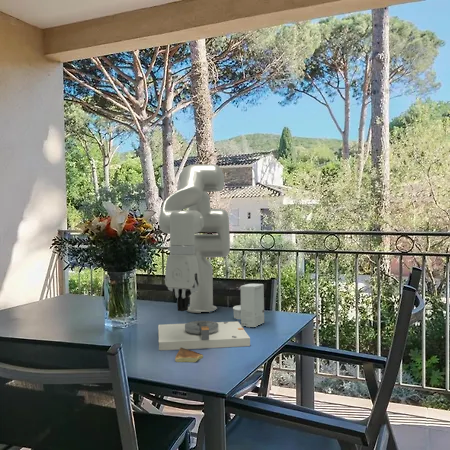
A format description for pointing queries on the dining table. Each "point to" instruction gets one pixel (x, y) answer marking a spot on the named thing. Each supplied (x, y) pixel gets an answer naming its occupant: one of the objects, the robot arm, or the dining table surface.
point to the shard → (187, 356)
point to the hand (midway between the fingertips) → (182, 310)
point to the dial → (201, 328)
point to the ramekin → (237, 312)
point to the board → (178, 338)
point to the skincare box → (252, 305)
